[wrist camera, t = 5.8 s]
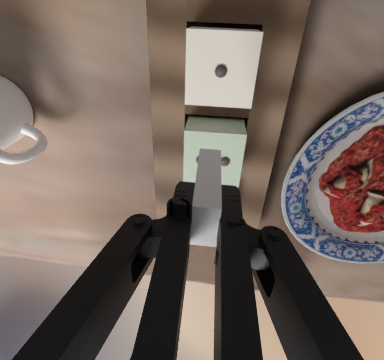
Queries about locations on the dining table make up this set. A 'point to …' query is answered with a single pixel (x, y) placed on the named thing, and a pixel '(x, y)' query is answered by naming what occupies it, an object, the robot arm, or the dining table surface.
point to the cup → (17, 124)
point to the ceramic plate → (340, 186)
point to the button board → (254, 118)
